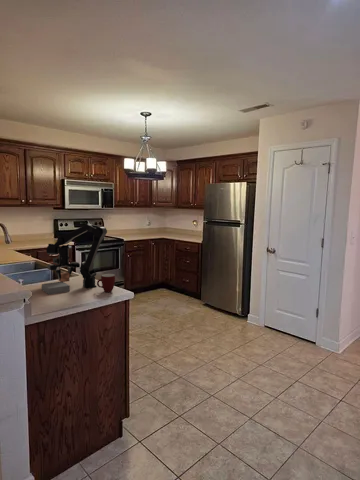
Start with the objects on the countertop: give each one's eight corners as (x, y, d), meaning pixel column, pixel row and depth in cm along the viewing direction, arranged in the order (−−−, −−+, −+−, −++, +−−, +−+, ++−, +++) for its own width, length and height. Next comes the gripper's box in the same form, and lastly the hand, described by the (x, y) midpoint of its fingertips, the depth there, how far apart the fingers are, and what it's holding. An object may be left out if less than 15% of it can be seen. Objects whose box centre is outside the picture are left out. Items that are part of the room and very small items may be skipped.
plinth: (61, 286, 195) (61, 281, 195) (69, 291, 186) (69, 285, 186) (41, 289, 187) (41, 284, 187) (48, 294, 178) (48, 288, 178)
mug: (96, 293, 183) (96, 277, 181) (97, 290, 190) (97, 274, 189) (115, 293, 185) (115, 276, 184) (114, 289, 193) (115, 273, 192)
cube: (66, 279, 203) (66, 272, 203) (69, 281, 199) (69, 273, 199) (58, 280, 200) (58, 272, 199) (61, 282, 196) (61, 274, 196)
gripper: (73, 252, 210) (73, 275, 212) (44, 254, 198) (44, 278, 199) (80, 254, 202) (80, 278, 203) (50, 257, 189) (50, 282, 191)
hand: (64, 279), depth 200 cm, fingers closed on cube, 5 cm apart
